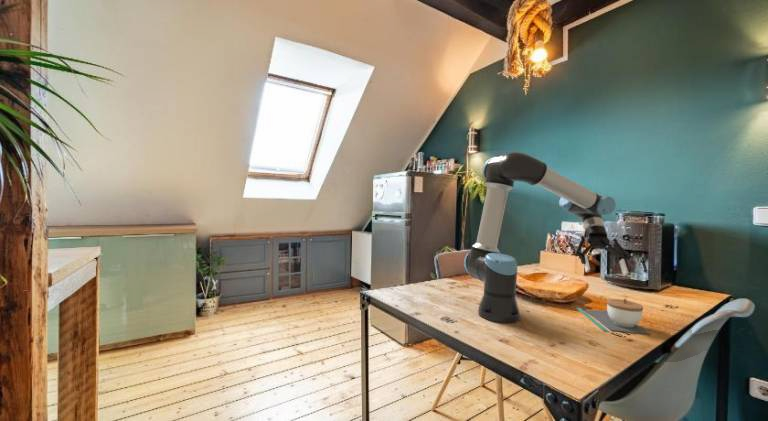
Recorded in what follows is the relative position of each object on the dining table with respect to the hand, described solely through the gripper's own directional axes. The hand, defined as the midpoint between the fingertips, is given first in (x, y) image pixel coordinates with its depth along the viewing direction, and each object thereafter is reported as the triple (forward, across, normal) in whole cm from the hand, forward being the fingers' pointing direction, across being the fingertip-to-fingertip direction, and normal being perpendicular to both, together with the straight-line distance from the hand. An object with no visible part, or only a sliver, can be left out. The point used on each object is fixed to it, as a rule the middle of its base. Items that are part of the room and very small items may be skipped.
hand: (606, 272), depth 129 cm
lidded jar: (+20, -2, -3) cm, 20 cm away
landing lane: (+17, 0, -6) cm, 18 cm away
